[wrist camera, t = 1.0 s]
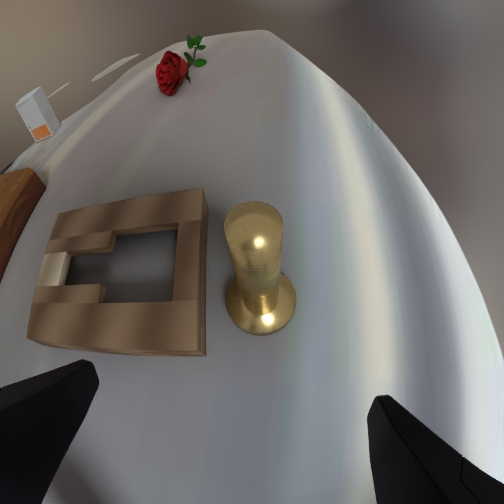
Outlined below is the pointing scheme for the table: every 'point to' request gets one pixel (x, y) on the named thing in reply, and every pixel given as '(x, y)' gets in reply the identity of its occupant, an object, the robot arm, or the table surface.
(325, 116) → the table surface
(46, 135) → the skincare box
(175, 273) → the keyhole plate
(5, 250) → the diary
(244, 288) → the brass peg
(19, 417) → the robot arm
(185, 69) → the flower
